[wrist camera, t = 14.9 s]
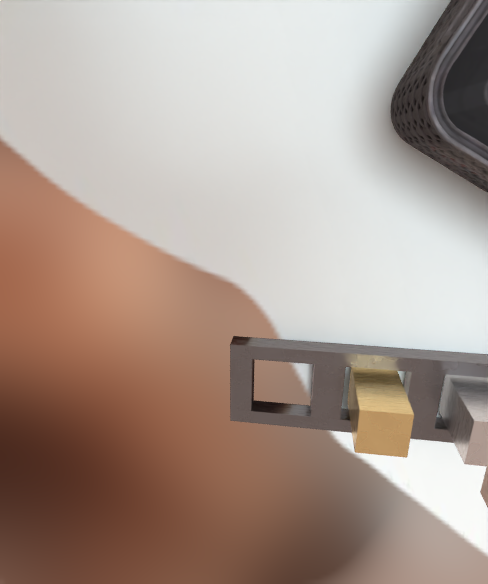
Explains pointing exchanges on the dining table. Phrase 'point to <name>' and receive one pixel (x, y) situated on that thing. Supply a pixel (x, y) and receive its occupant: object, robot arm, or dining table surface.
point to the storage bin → (449, 93)
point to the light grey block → (467, 416)
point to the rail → (330, 381)
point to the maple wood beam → (379, 412)
